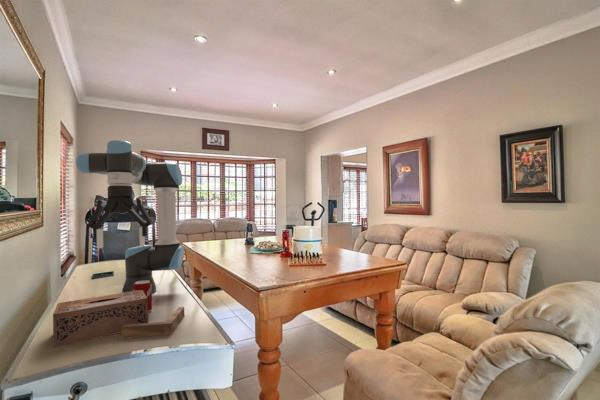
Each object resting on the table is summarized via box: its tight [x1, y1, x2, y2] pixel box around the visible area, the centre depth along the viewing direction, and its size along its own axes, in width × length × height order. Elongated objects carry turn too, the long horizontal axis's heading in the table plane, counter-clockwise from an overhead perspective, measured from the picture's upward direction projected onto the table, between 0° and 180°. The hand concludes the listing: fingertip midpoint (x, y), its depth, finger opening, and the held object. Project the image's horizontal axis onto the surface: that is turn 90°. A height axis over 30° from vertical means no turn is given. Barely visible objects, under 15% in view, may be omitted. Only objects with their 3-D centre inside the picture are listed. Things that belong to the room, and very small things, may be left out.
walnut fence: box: [121, 306, 185, 339], centre depth 107 cm, size 17×15×4 cm
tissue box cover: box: [52, 290, 149, 348], centre depth 106 cm, size 26×14×10 cm, turn 123°
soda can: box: [133, 280, 153, 313], centre depth 123 cm, size 7×7×12 cm
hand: (121, 247), depth 106 cm, fingers open, 13 cm apart
